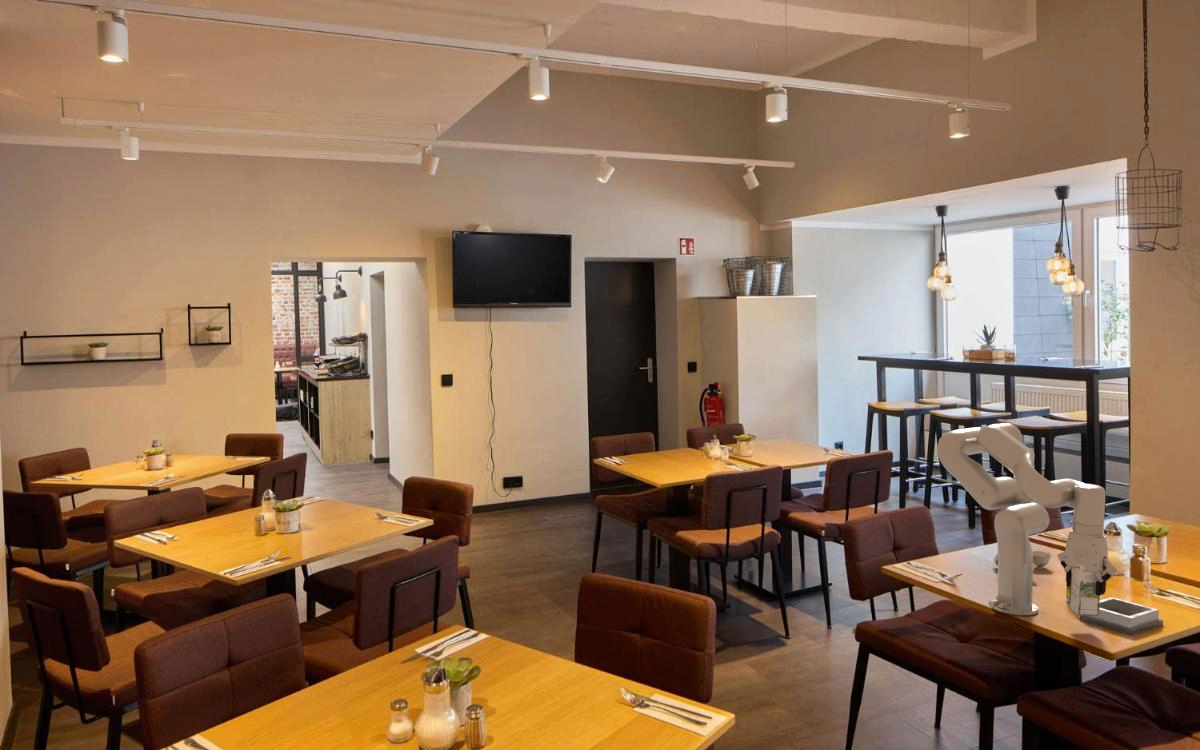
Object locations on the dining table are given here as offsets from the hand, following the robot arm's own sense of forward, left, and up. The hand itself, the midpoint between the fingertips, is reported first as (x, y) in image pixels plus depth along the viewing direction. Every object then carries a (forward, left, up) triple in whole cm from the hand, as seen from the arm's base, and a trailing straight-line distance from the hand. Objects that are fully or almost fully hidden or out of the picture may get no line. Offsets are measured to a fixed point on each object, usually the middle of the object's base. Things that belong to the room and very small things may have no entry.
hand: (1085, 589), depth 240 cm
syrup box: (0, 0, -7) cm, 7 cm away
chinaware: (+35, +45, -12) cm, 59 cm away
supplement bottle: (+21, +15, -12) cm, 29 cm away
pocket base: (+14, -2, -11) cm, 18 cm away
